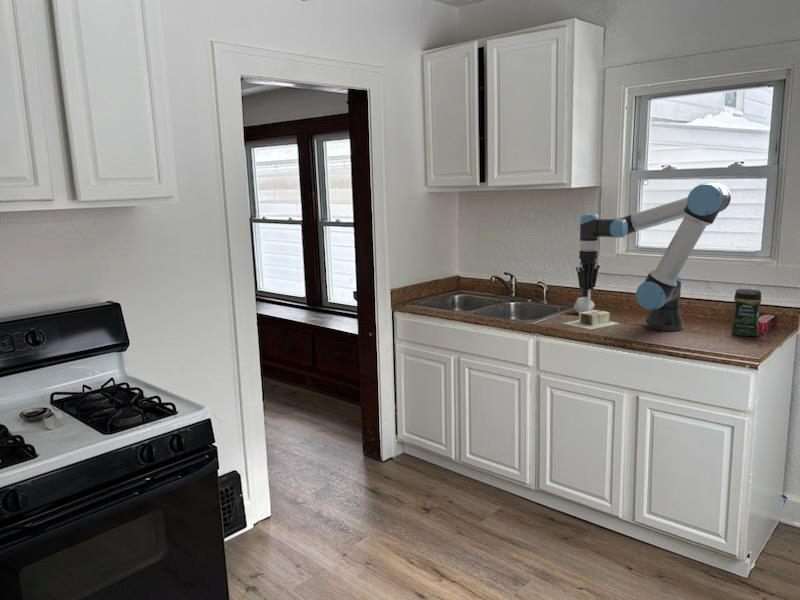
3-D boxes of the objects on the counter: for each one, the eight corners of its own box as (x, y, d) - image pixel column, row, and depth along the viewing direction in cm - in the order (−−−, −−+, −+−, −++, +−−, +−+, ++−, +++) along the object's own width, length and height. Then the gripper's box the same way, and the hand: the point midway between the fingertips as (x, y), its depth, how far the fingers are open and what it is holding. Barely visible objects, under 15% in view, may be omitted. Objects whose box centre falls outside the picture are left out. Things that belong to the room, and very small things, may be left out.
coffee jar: (729, 335, 264) (732, 289, 261) (733, 331, 271) (736, 287, 267) (756, 338, 259) (760, 291, 255) (760, 334, 265) (763, 288, 262)
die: (592, 318, 305) (600, 299, 308) (575, 309, 305) (583, 290, 307) (584, 321, 314) (592, 303, 316) (568, 312, 313) (576, 294, 316)
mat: (619, 324, 289) (619, 323, 289) (590, 330, 279) (590, 329, 279) (590, 318, 302) (590, 317, 302) (562, 323, 292) (562, 323, 292)
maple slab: (593, 325, 285) (609, 322, 291) (593, 315, 285) (610, 312, 291) (578, 322, 292) (595, 319, 298) (579, 312, 291) (595, 309, 297)
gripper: (591, 248, 290) (590, 301, 294) (571, 250, 283) (570, 304, 287) (605, 249, 283) (603, 303, 288) (585, 251, 276) (583, 306, 281)
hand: (586, 303), depth 287 cm, fingers closed
